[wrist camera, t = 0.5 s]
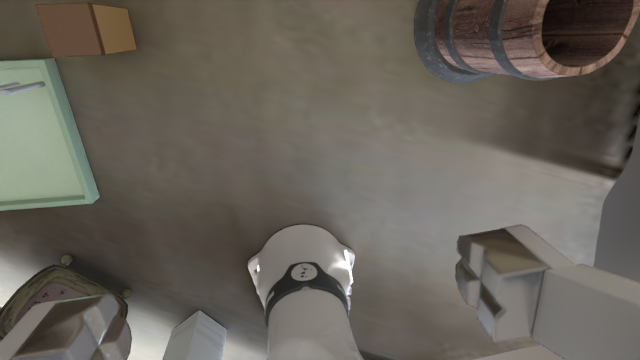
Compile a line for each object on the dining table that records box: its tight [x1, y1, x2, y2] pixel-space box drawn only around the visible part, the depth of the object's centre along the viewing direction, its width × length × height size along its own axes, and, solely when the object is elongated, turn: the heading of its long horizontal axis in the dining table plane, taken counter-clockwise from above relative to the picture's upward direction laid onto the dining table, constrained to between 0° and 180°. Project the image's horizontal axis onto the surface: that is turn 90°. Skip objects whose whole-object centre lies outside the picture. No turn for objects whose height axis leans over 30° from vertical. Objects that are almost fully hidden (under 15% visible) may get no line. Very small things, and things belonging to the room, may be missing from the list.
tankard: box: [414, 0, 640, 84], centre depth 39 cm, size 24×17×20 cm
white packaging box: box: [163, 310, 227, 360], centre depth 59 cm, size 7×7×13 cm
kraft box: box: [36, 3, 137, 57], centre depth 40 cm, size 5×5×10 cm
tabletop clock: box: [0, 255, 131, 342], centre depth 47 cm, size 14×9×25 cm, turn 45°
